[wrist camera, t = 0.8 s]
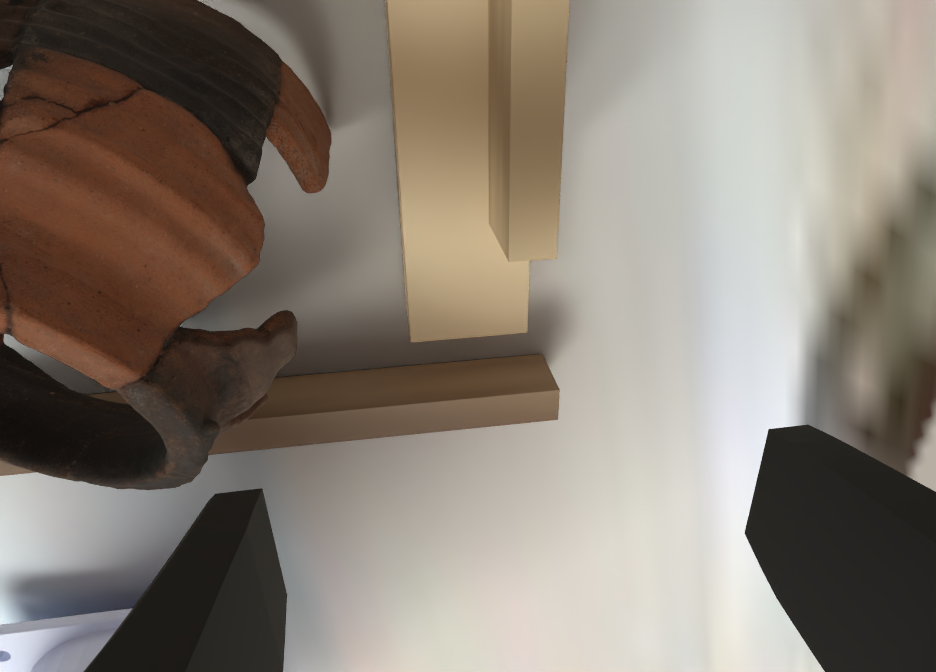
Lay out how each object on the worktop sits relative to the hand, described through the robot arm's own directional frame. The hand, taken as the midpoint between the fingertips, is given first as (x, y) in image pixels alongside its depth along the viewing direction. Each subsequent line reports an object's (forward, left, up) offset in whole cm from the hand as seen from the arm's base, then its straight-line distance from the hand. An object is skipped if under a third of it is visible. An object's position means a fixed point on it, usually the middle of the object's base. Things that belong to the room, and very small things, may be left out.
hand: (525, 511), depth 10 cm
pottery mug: (+5, +7, -11) cm, 14 cm away
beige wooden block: (+4, 0, -10) cm, 11 cm away
